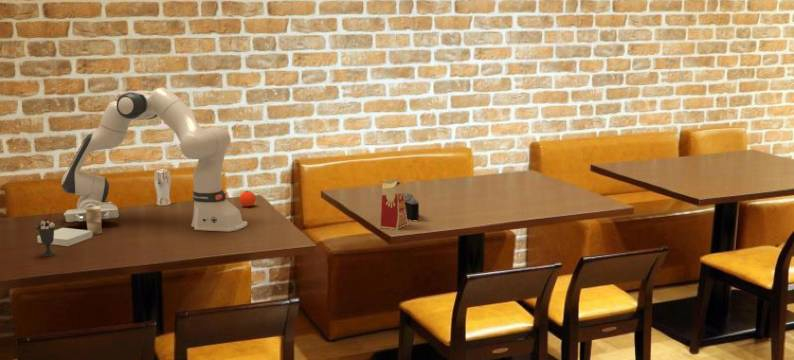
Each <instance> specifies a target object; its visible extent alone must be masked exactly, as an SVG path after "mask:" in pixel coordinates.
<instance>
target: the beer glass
mask: <svg viewBox="0 0 794 360" xmlns="http://www.w3.org/2000/svg"><path fill="white" fill-rule="evenodd" d="M153 174H154V175H153V179H154V180H153V181H154V182H153V183H154V188H155V192H156V205H157V206H169V205H171V202H172V201H171V198H170V194H171V193H170V192H171V183H172V182H171V172H170V169H167V168H164V169H163V168H162V169H156V170H154V173H153Z"/></svg>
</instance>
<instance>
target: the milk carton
mask: <svg viewBox="0 0 794 360" xmlns="http://www.w3.org/2000/svg"><path fill="white" fill-rule="evenodd" d="M381 182H382V189H381V191H382V192H381V202H380V203H381V204H380V205H381V206H380V227H379V228H380V229H385V228H390V229H389V230H393V229H396V230H395V231H398V230H400V229H399V228H401V227H403V226H405V225H407V224H408V220H407V213H406V207H405V201H404V196H403V194H404V192H403V188H402V183H401V182H400V181H399V177H396V178H393V179H388V180H381ZM407 226H408V225H407ZM405 227H406V226H405ZM403 228H404V227H403ZM397 229H398V230H397ZM401 229H402V228H401Z"/></svg>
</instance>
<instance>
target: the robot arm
mask: <svg viewBox="0 0 794 360" xmlns="http://www.w3.org/2000/svg"><path fill="white" fill-rule="evenodd" d="M156 117H158V118H159V119H160V120H162V122H163V123H164V124H165V125H167V127H168V128H169V129H171V131H173V133H174V134H175V135H176V136H177V138H178V140H179V142H180V143H179V149H180V151H181V153H182V155H183V156H184V157H185V158H187V159H191V160H197V164H196V166H195V168H194V169H193V172H192V173H193V191H192V199H193V200H192V201H193V214H192V221H191V224H190V225H191V227H192V228H194V229H193V230H195V231H206V232H207V231H209V232H210V231H211V232H212V231H213V232H233V231H234V232H235V231H239V230H242V229H243V228H246V227H247V226H248V221H245V220H243V217H242V214H241V211H240V209H239V208H238V207H236V206H234V204H232V203H231V202H230V201H229V200H227V196H228V195H229V194H228V193H229V192H224V190H223V180H222V175H223V174H222V172H223V164H224V160H225V155H226V153H227V150H228V148H229V147H230V145H231V135H230V133H229V132H228V130H226V129H225V128H224V127H220V126H219V127H217V126H210V127H207V128H203V127H201V126H200V125H199V123H198V122H197V115H196V113H195V111H193V110H192V108H190V107H189V106H188V105H187V104H186V103H185V102H184V101H183V100H181V98H180V97H178V96H177V95H176V94H175V93H173V92H172V91H170V90H168V89H167V88H166V87H157V88H155V89H154V90H152V91H151V92H150V93H146V92H140V91H139V92H138V91H137V92H136V91H135V92H129V91H128V92H126V93H123V94H121V95H120V96H119V97H118V99H117V100H114V101H111V102H110V103H108V105H107V106H106V109H105V111H104V112H103V115H102V116H101V120H100V122H99V125H98V127H97V129H95V131H94V132H92V133H88V135H86V136H85V137H84V140H83V141H82V142H81V145H80V146H79V148H78V150H77V152H76V154H75V156H73V157H74V158H73V159H72V161H71V163H70V165H69V166H68V169H67V170H66V172H65V173H64V174H63V176H62V178H61V182H60V184H61V185H60V186H61V188H62V189H63V191H64V192H65V193H66V194H70V195H79V196H80V197H79V198H78V199H77V202H76V208H74V209H67V210H66V211H65V212H64V213H63V216H64V217H65V222H67V223H73V222H86V223H87V219H86V207H93V206H99V207H100V210H101V220H108V219H115V218H118V217H119V208H118V206H117V205H115V204H113V202H112V201H108V200H107V199H108V195H109V191H110V183H109V181H108V180H107V177H105V176H102V175H98V174H93V173H90V172H85V171H82V170H81V169H82V167H83V166H84V163H85V161H86V160H87V157H88V156H89V155H90V154H91V153H93V152H97V151H100V150H101V151H102V150H112V149H114V148H117V147H119V146H121V145H122V144H123V142H124V141H125V138H126V135H127V132H128V129H129V126H130V124H131V122H132V121H133V120H137V121H143V120H144V121H145V120H152V119H155V118H156Z"/></svg>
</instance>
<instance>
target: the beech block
mask: <svg viewBox="0 0 794 360" xmlns="http://www.w3.org/2000/svg"><path fill="white" fill-rule="evenodd" d="M86 219H87V222H86V230H88V231H92V234H93V235H101V234H100V233H102V234H103V229H102V219H101V210H100V207H99V206H93V207H86Z"/></svg>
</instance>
